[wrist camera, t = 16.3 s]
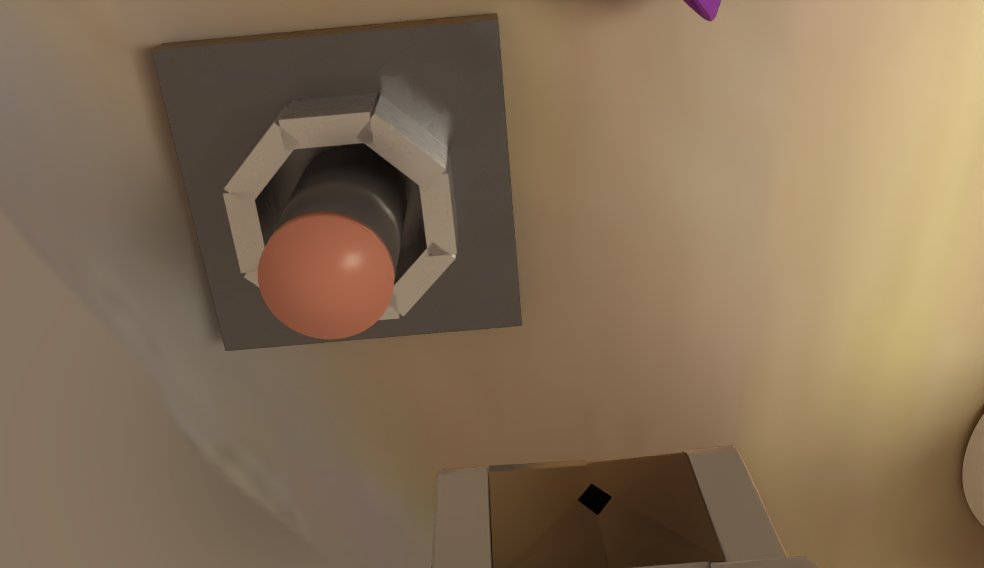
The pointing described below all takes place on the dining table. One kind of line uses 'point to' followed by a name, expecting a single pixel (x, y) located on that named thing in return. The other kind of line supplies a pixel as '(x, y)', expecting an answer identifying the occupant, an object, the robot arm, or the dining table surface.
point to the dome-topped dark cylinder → (336, 246)
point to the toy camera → (705, 8)
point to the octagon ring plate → (361, 125)
